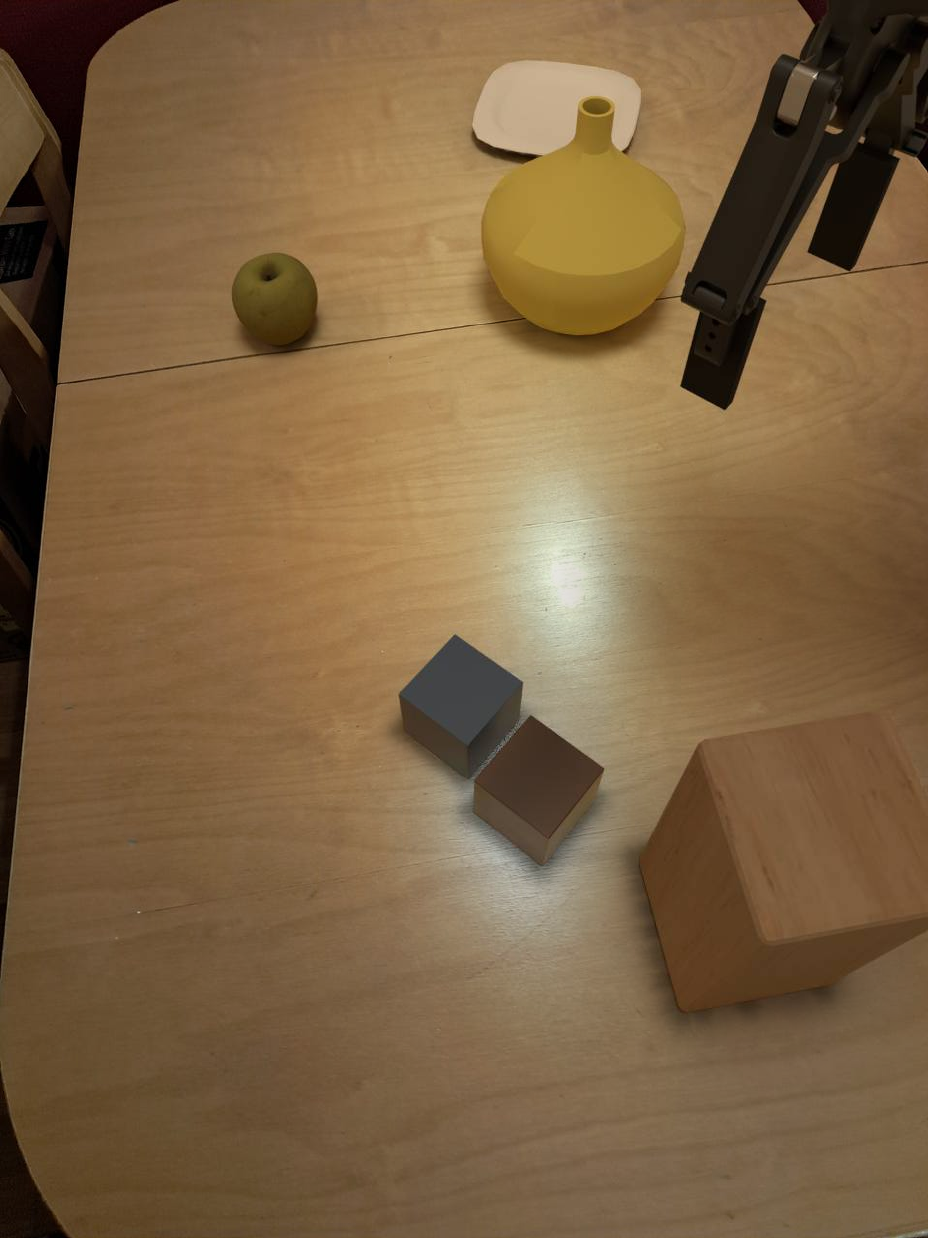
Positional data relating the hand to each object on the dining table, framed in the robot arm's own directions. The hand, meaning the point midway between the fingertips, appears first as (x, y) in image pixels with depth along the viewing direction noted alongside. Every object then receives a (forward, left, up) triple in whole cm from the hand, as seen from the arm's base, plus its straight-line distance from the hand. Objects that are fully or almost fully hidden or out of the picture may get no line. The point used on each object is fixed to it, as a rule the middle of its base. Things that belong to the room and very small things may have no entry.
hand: (771, 323), depth 51 cm
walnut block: (-2, +22, -27) cm, 34 cm away
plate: (+45, -45, -27) cm, 69 cm away
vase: (+26, -22, -27) cm, 43 cm away
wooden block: (-16, +20, -27) cm, 37 cm away
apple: (+45, -1, -27) cm, 52 cm away
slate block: (+6, +20, -27) cm, 34 cm away
